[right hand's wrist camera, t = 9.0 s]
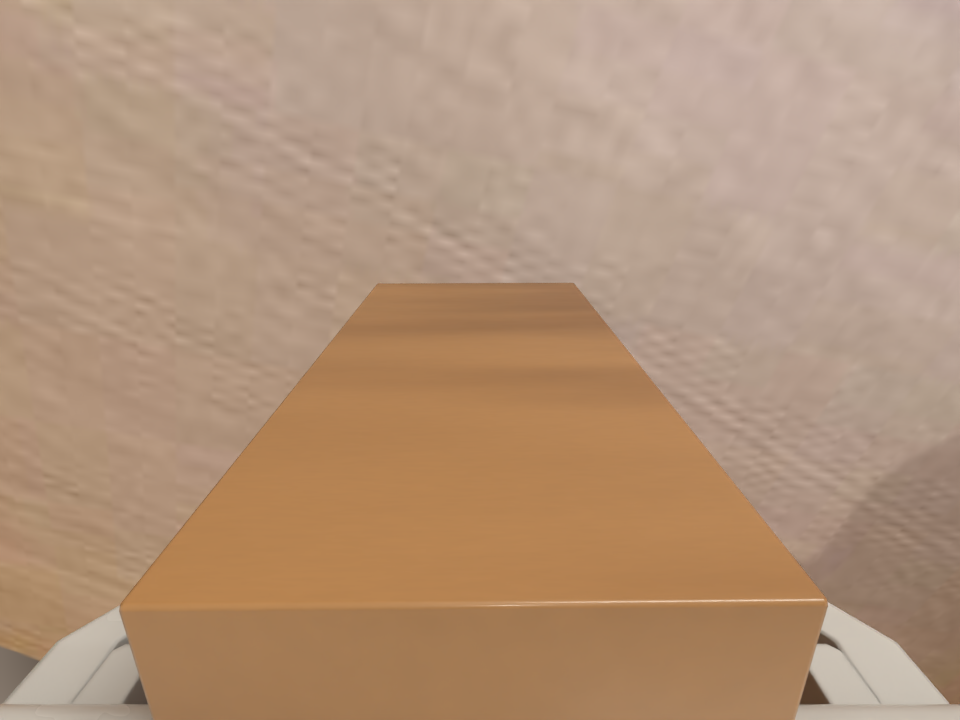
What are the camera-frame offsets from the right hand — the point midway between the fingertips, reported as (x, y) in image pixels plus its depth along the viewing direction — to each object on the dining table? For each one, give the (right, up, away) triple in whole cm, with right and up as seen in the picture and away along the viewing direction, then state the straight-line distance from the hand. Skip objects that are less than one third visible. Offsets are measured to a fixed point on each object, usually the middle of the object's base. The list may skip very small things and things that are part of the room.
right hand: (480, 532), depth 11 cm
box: (0, -6, +10) cm, 12 cm away
